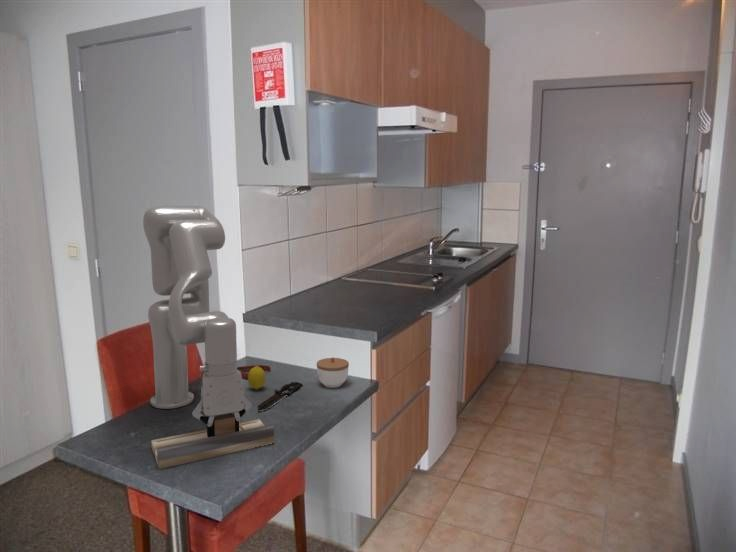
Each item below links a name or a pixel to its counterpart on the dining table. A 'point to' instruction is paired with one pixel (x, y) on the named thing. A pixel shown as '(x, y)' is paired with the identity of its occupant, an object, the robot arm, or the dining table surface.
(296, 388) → the knife
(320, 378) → the lidded jar
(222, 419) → the brown block with peg
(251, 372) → the lemon
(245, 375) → the pliers
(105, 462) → the dining table surface
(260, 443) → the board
